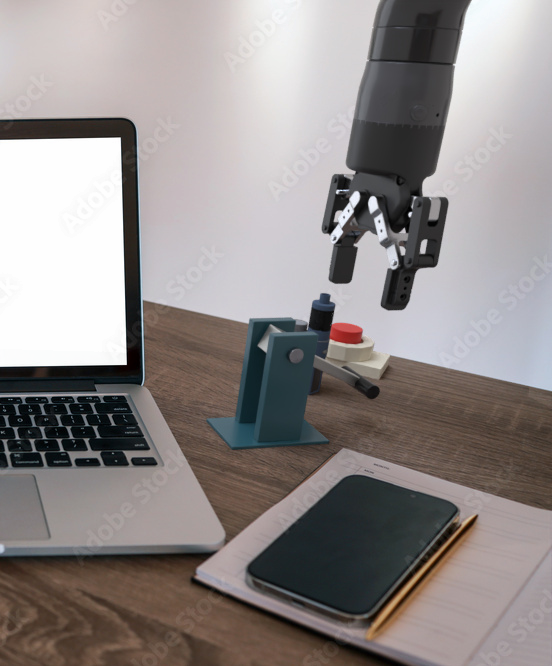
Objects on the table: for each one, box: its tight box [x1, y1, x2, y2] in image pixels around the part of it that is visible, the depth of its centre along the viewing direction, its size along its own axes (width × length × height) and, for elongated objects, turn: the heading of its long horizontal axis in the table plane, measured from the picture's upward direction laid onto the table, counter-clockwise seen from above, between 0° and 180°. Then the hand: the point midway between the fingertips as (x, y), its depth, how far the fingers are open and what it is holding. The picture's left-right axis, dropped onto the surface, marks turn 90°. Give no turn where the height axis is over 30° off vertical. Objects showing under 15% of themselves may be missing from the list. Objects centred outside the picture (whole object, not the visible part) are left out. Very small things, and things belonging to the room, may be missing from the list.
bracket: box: [205, 316, 330, 451], centre depth 74 cm, size 10×6×12 cm, turn 103°
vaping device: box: [293, 292, 336, 396], centre depth 85 cm, size 3×5×12 cm, turn 40°
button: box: [330, 322, 364, 344], centre depth 93 cm, size 4×4×2 cm
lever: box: [257, 324, 381, 400], centre depth 74 cm, size 12×5×2 cm, turn 102°
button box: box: [325, 333, 391, 381], centre depth 94 cm, size 10×6×4 cm, turn 58°
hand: (364, 295), depth 73 cm, fingers open, 8 cm apart
